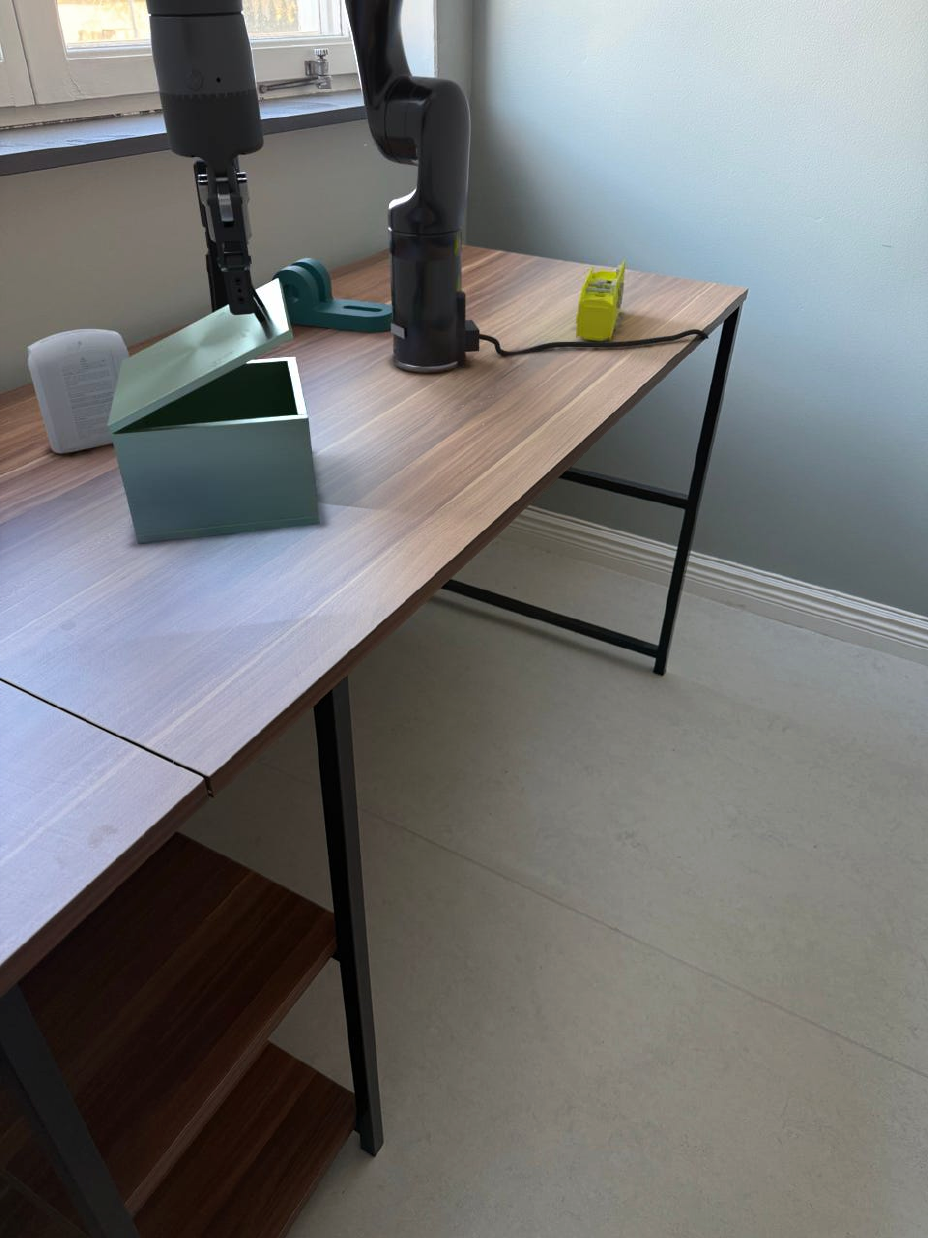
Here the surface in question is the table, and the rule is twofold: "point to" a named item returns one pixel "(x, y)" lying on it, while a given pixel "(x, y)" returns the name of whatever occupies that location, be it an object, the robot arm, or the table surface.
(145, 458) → the box
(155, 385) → the lid
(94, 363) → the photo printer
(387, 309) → the bracket
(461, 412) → the table surface
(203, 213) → the portable radio
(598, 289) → the yellow toy chassis
